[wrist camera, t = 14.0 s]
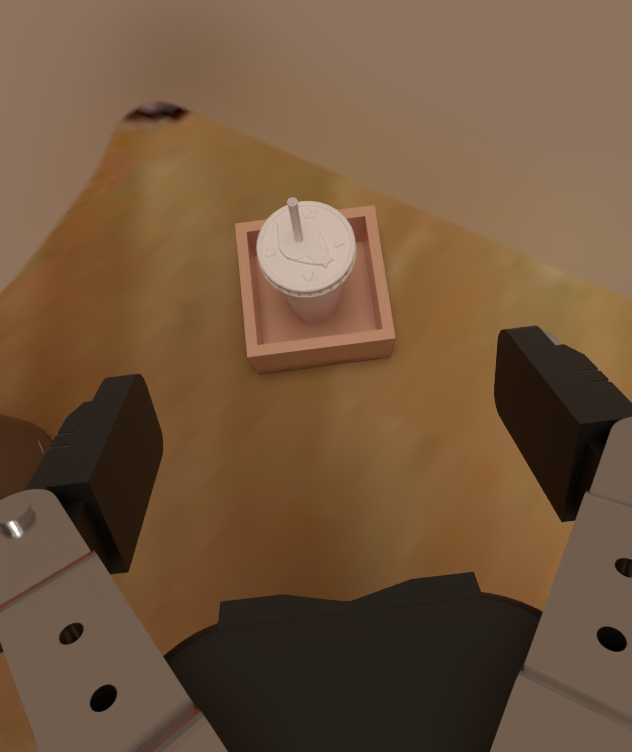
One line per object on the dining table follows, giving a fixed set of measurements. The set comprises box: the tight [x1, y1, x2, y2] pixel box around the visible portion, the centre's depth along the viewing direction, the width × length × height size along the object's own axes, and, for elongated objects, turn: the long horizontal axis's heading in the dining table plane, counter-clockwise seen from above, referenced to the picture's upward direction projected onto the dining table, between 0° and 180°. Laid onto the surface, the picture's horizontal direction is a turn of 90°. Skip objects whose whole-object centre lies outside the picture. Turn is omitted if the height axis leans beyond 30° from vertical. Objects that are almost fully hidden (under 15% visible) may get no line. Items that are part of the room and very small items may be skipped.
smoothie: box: [257, 198, 356, 324], centre depth 37 cm, size 6×6×14 cm
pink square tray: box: [235, 205, 396, 374], centre depth 42 cm, size 11×11×5 cm
